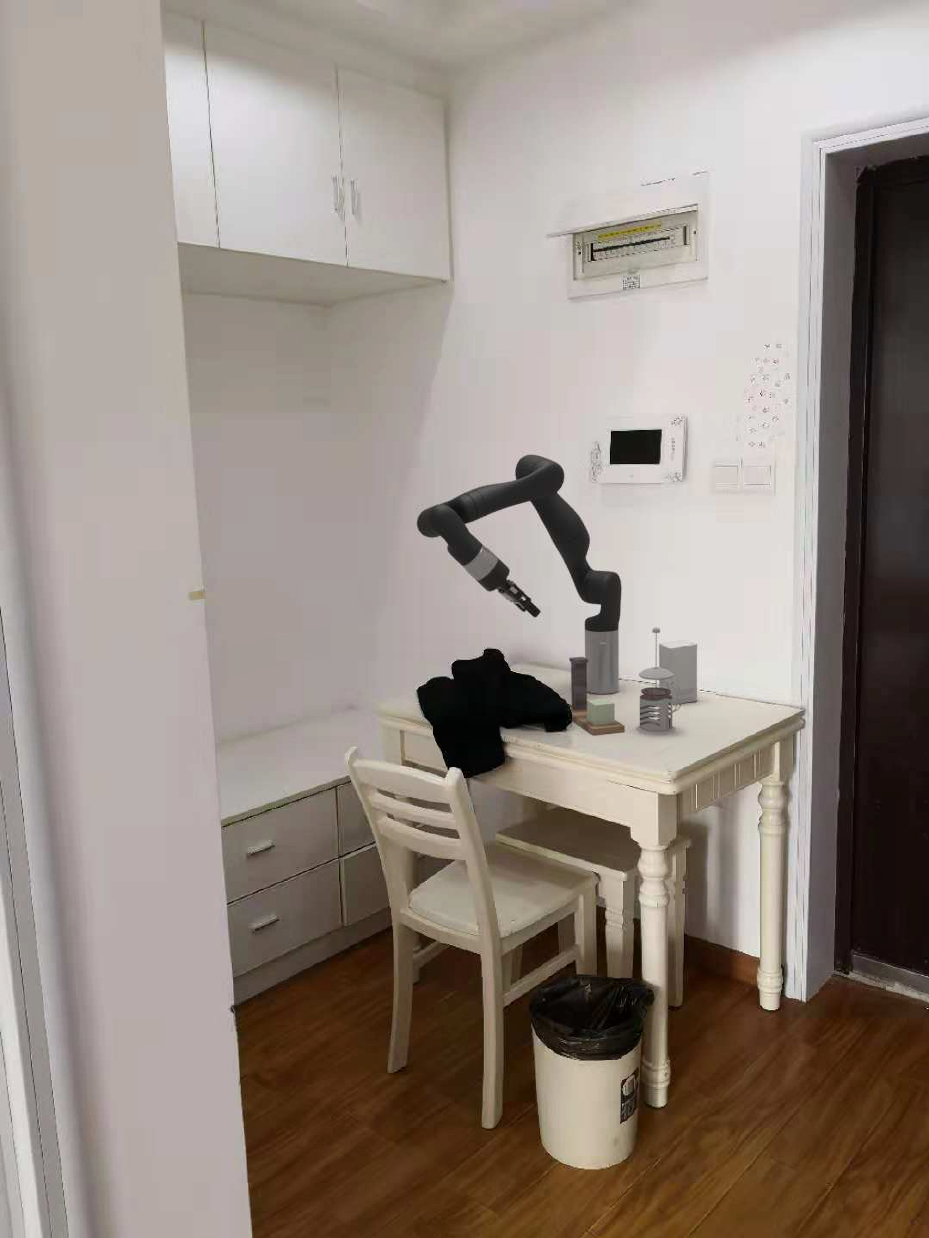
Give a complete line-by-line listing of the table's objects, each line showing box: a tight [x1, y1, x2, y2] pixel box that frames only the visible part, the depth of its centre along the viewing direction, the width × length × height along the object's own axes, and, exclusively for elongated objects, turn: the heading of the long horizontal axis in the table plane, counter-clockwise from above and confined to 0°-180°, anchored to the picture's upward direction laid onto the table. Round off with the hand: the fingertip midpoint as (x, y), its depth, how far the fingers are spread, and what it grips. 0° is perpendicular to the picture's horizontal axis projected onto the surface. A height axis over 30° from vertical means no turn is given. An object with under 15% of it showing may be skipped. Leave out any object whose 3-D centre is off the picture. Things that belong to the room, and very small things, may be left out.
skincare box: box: [658, 639, 698, 706], centre depth 275 cm, size 8×7×16 cm
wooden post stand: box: [568, 656, 626, 736], centre depth 257 cm, size 22×8×14 cm, turn 15°
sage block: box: [587, 698, 616, 726], centre depth 252 cm, size 5×5×5 cm
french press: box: [635, 626, 683, 736], centre depth 247 cm, size 10×12×25 cm
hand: (532, 611), depth 254 cm, fingers open, 8 cm apart
